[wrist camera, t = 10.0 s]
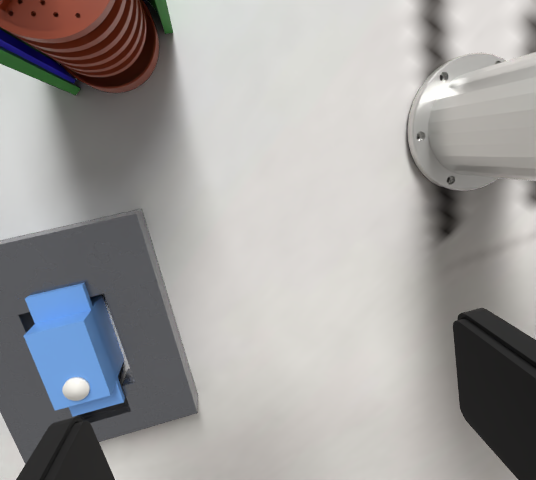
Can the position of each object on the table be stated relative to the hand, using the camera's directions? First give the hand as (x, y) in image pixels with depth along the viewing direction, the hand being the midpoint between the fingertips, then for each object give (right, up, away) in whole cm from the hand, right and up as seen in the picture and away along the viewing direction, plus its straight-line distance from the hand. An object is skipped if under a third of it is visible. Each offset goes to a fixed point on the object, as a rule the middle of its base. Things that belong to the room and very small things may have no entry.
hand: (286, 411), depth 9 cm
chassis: (-17, -4, +25) cm, 31 cm away
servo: (-17, -5, +25) cm, 31 cm away
